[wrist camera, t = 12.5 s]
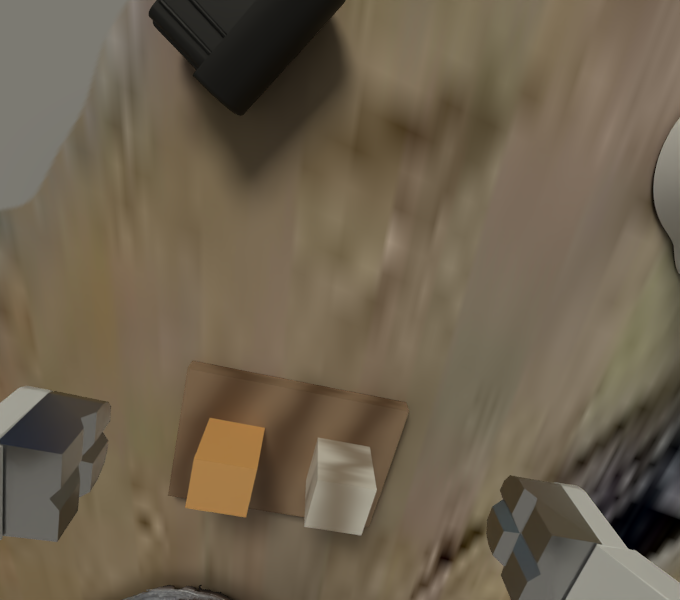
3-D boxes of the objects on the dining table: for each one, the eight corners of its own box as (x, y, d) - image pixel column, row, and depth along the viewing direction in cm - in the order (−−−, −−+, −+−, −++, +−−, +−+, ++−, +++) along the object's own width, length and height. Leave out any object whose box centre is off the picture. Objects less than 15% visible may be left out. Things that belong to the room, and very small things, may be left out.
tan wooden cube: (264, 427, 41) (257, 469, 36) (254, 471, 43) (246, 517, 38) (209, 417, 41) (193, 458, 35) (201, 462, 42) (185, 507, 37)
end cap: (248, 119, 34) (231, 115, 28) (172, 41, 32) (136, 18, 26) (344, 13, 32) (350, -18, 25) (270, -78, 30) (257, -135, 23)
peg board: (406, 402, 43) (421, 451, 36) (367, 515, 47) (375, 577, 41) (192, 360, 40) (167, 404, 34) (172, 484, 45) (147, 544, 38)
